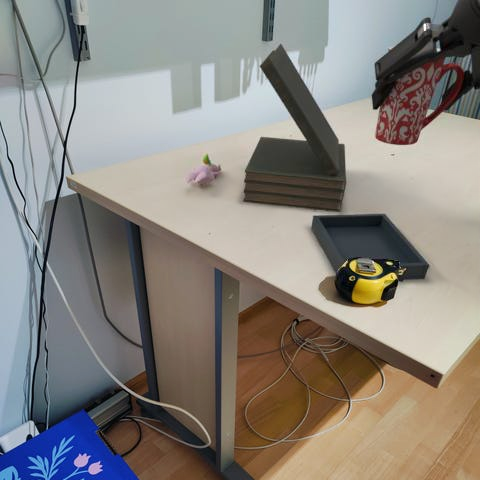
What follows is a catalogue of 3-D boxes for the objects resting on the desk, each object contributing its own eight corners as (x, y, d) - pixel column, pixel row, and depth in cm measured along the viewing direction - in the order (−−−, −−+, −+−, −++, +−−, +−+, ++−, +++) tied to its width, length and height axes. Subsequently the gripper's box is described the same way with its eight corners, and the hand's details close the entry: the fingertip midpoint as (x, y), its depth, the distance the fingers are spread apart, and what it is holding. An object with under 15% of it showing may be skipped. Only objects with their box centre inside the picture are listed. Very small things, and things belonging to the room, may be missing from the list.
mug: (372, 145, 71) (393, 51, 62) (366, 130, 78) (384, 43, 69) (449, 151, 70) (481, 56, 62) (436, 135, 77) (463, 48, 69)
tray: (381, 226, 79) (384, 213, 78) (424, 279, 66) (429, 264, 64) (311, 228, 78) (313, 215, 76) (340, 283, 64) (343, 268, 62)
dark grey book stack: (340, 212, 83) (369, 66, 67) (242, 201, 86) (248, 58, 70) (340, 171, 101) (363, 47, 85) (259, 163, 103) (266, 41, 87)
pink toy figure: (202, 175, 99) (176, 189, 86) (202, 148, 96) (177, 158, 83) (227, 179, 98) (205, 193, 85) (229, 152, 95) (206, 162, 82)
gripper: (408, 20, 49) (343, 122, 71) (593, 27, 52) (477, 123, 74) (402, -39, 50) (339, 80, 71) (585, -29, 53) (472, 83, 74)
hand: (409, 102), depth 73 cm, fingers closed on mug, 12 cm apart
